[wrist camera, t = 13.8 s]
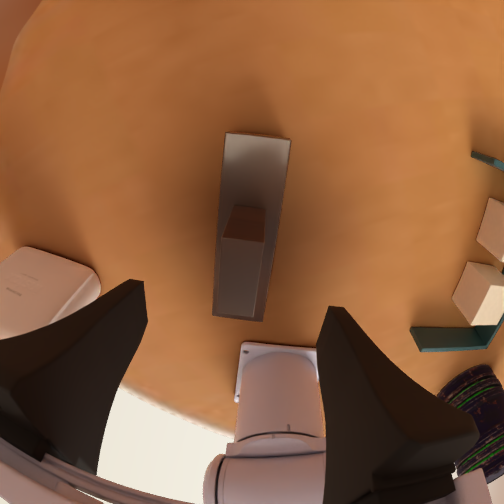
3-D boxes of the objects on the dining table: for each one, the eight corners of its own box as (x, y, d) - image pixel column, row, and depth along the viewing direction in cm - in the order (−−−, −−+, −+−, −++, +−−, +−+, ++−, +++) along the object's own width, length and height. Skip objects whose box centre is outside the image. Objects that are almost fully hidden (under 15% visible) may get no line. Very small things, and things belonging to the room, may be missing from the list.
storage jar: (495, 380, 28) (530, 455, 15) (443, 416, 32) (468, 495, 19) (486, 352, 26) (534, 443, 12) (425, 397, 29) (456, 494, 16)
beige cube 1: (477, 300, 22) (497, 325, 19) (451, 299, 22) (470, 325, 19) (493, 265, 21) (516, 287, 17) (467, 261, 21) (491, 284, 17)
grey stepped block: (263, 293, 23) (260, 372, 16) (219, 288, 23) (199, 363, 16) (287, 135, 18) (300, 149, 10) (233, 129, 18) (207, 138, 10)
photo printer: (102, 266, 23) (18, 367, 12) (103, 304, 25) (37, 405, 14) (21, 238, 22) (-62, 307, 11) (27, 274, 24) (-44, 347, 13)
